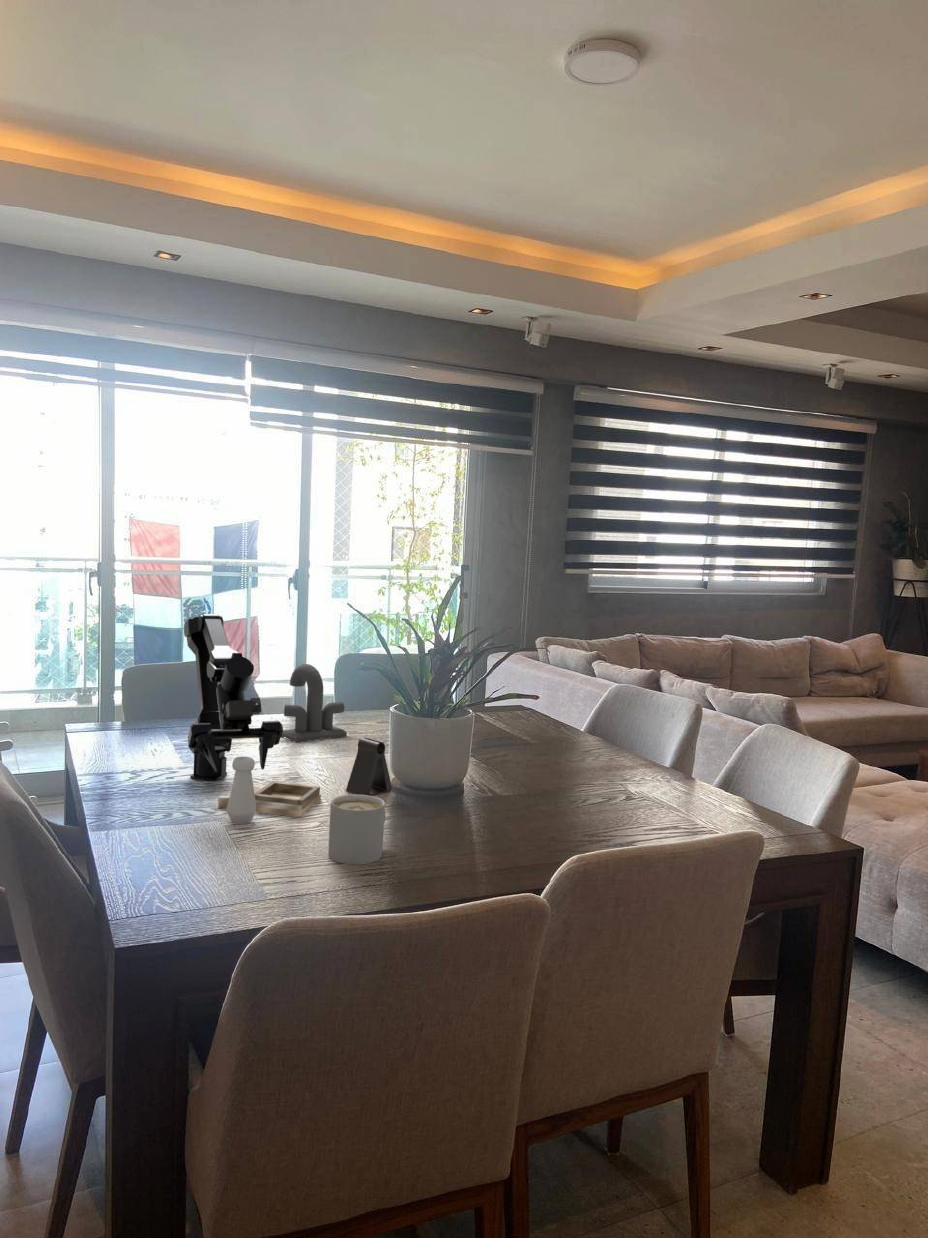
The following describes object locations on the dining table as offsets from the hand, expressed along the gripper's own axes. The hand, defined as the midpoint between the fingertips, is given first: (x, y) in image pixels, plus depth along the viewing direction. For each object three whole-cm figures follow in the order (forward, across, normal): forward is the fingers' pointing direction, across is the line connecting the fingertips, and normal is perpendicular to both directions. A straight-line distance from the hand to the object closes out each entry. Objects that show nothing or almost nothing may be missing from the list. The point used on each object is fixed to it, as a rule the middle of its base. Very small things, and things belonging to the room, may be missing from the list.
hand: (240, 769), depth 190 cm
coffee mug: (+26, +18, -11) cm, 33 cm away
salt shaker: (+9, 0, +5) cm, 10 cm away
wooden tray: (+2, +8, +12) cm, 15 cm away
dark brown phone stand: (-1, +32, +15) cm, 35 cm away
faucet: (-43, +33, +57) cm, 79 cm away
